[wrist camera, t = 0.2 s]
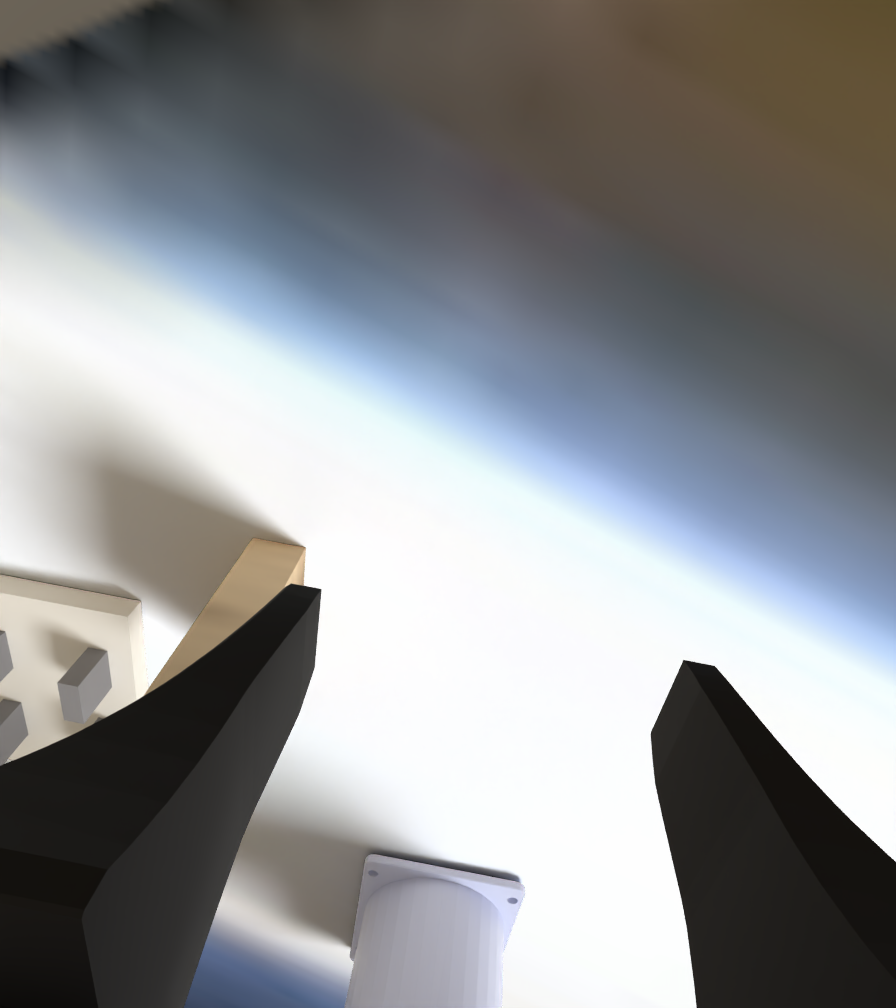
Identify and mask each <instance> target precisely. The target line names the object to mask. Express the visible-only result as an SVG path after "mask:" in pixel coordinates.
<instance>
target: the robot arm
mask: <svg viewBox="0 0 896 1008" xmlns="http://www.w3.org/2000/svg"><path fill="white" fill-rule="evenodd" d="M320 599H321V589H317V588H312V587H307V586H302V585H297V584H292V583H291V584H289V585H288V586H286V587H285V588H283V589H282V590H281V591H280V592H279V593H278V594H277V595H276V596H275V597H274V598H273V599H272V600H270V601H269V602H268V603H267V604H266V605H265V606H264V607H263V608H262V609H260V610H259V611H258V612H257V613H256V614H255V615H254V616H252V617H251V618H250V619H249V620H248V621H247V622H245V623H244V624H243V625H242V626H241V627H239V628H238V629H237V630H236V631H234V632H233V633H232V634H231V635H229V636H228V637H227V638H226V639H225V640H223V641H222V642H221V643H220V644H218V645H217V646H216V647H214V648H213V649H212V650H210V651H209V652H208V653H206V654H205V655H204V656H202V657H201V658H199V659H198V660H197V661H195V662H194V663H193V664H191V665H190V666H188V667H187V668H186V669H184V670H183V671H182V672H180V673H179V674H177V675H176V676H174V677H173V678H171V679H170V680H168V681H167V682H165V683H164V684H162V685H160V686H159V687H157V688H156V689H154V690H153V691H151V692H149V693H148V694H146V695H144V696H143V697H141V698H139V699H138V700H136V701H134V702H133V703H131V704H129V705H127V706H126V707H124V708H122V709H120V710H118V711H117V712H115V713H113V714H111V715H109V716H107V717H106V718H104V719H102V720H100V721H98V722H96V723H94V724H92V725H90V726H88V727H86V728H84V729H83V730H81V731H79V732H77V733H75V734H72V735H70V736H68V737H66V738H64V739H62V740H59V741H57V742H55V743H53V744H51V745H48V746H46V747H44V748H42V749H39V750H37V751H35V752H32V753H30V754H28V755H25V756H23V757H20V758H18V759H16V760H13V761H11V762H8V763H6V764H3V765H1V766H0V1008H184V1005H185V1002H186V999H187V996H188V993H189V990H190V987H191V984H192V981H193V978H194V975H195V972H196V969H197V966H198V963H199V960H200V957H201V954H202V951H203V948H204V945H205V942H206V939H207V936H208V933H209V930H210V928H211V925H212V922H213V919H214V916H215V913H216V910H217V907H218V904H219V902H220V899H221V896H222V893H223V890H224V887H225V884H226V882H227V879H228V876H229V873H230V871H231V868H232V865H233V862H234V859H235V857H236V854H237V851H238V848H239V845H240V843H241V840H242V837H243V835H244V833H245V830H246V828H247V825H248V823H249V821H250V818H251V816H252V814H253V812H254V809H255V807H256V805H257V803H258V801H259V799H260V797H261V794H262V792H263V790H264V788H265V786H266V784H267V782H268V780H269V777H270V775H271V773H272V771H273V769H274V767H275V765H276V763H277V760H278V758H279V756H280V754H281V752H282V750H283V748H284V745H285V743H286V741H287V739H288V737H289V735H290V732H291V730H292V728H293V726H294V724H295V722H296V719H297V717H298V715H299V713H300V710H301V707H302V704H303V701H304V698H305V695H306V692H307V689H308V686H309V683H310V680H311V677H312V673H313V670H314V667H315V656H316V645H317V633H318V622H319V611H320ZM651 743H652V756H653V767H654V776H655V784H656V789H657V794H658V799H659V803H660V808H661V812H662V816H663V821H664V825H665V830H666V834H667V838H668V843H669V847H670V851H671V856H672V860H673V864H674V869H675V873H676V877H677V882H678V886H679V890H680V895H681V899H682V904H683V909H684V915H685V920H686V925H687V932H688V940H689V947H690V955H691V963H692V970H693V978H694V986H695V995H696V1005H697V1008H896V862H895V861H894V860H893V859H892V858H891V857H890V856H888V855H887V854H886V853H885V852H884V851H883V850H882V849H881V848H880V847H879V846H878V845H877V844H876V843H875V842H874V841H872V840H871V839H870V838H869V837H868V836H867V835H866V834H865V833H864V832H863V831H862V830H861V829H860V828H859V827H858V826H857V825H855V824H854V823H853V822H852V821H851V820H850V819H849V818H848V817H847V816H846V815H845V814H844V813H843V812H842V811H841V810H840V809H839V808H838V807H837V806H836V805H835V804H834V803H833V801H832V800H831V799H830V798H829V797H828V796H827V795H826V794H825V793H824V792H823V791H822V790H821V789H820V788H819V787H818V786H817V784H816V783H815V782H814V781H813V780H812V779H811V778H810V777H809V776H808V775H807V774H806V773H805V772H804V770H803V769H802V768H801V767H800V766H799V765H798V764H797V763H796V761H795V760H794V759H793V758H792V757H791V756H790V755H789V754H788V752H787V751H786V750H785V749H784V748H783V747H782V745H781V744H780V743H779V742H778V741H777V740H776V738H775V737H774V736H773V735H772V734H771V733H770V731H769V730H768V729H767V728H766V727H765V725H764V724H763V723H762V722H761V721H760V719H759V718H758V717H757V716H756V715H755V713H754V712H753V711H752V710H751V708H750V707H749V706H748V705H747V704H746V702H745V701H744V700H743V699H742V698H741V696H740V695H739V694H738V693H737V692H736V690H735V689H734V688H733V687H732V686H731V684H730V683H729V682H728V681H727V680H726V678H725V677H724V676H723V675H722V674H721V673H720V672H719V670H718V669H717V668H716V667H715V666H711V665H706V664H701V663H696V662H691V661H686V660H683V663H682V665H681V667H680V669H679V672H678V674H677V676H676V678H675V680H674V683H673V685H672V687H671V689H670V692H669V694H668V696H667V698H666V700H665V703H664V705H663V707H662V709H661V712H660V714H659V716H658V718H657V720H656V723H655V725H654V727H653V729H652V731H651ZM524 896H525V887H524V885H523V884H521V883H520V882H516V881H511V880H506V879H501V878H496V877H491V876H485V875H480V874H475V873H470V872H465V871H459V870H454V869H449V868H444V867H439V866H434V865H428V864H423V863H418V862H413V861H408V860H403V859H397V858H392V857H387V856H382V855H377V854H372V855H369V856H367V857H366V859H365V863H364V869H363V875H362V882H361V888H360V894H359V901H358V907H357V913H356V920H355V926H354V932H353V939H352V945H351V951H350V958H351V960H352V961H354V964H353V969H352V974H351V979H350V984H349V988H348V993H347V998H346V1003H345V1008H502V987H503V953H504V950H505V947H506V945H507V942H508V939H509V937H510V934H511V931H512V928H513V926H514V923H515V920H516V918H517V915H518V912H519V910H520V907H521V904H522V902H523V899H524Z"/></svg>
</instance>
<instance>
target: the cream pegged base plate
mask: <svg viewBox="0 0 896 1008" xmlns="http://www.w3.org/2000/svg"><path fill="white" fill-rule="evenodd" d="M148 689H149V685H148V674H147V663H146V652H145V641H144V630H143V619H142V608H141V601H137V600H132V599H126V598H121V597H116V596H111V595H105V594H100V593H95V592H90V591H84V590H79V589H74V588H69V587H63V586H58V585H53V584H47V583H42V582H37V581H32V580H26V579H21V578H16V577H11V576H5V575H0V766H1V765H3V764H4V763H5V762H6V761H7V759H10V760H16V759H18V758H20V757H23V756H25V755H28V754H30V753H32V752H35V751H37V750H39V749H42V748H44V747H46V746H48V745H51V744H53V743H55V742H57V741H59V740H62V739H64V738H66V737H68V736H70V735H72V734H75V733H77V732H79V731H81V730H83V729H84V728H86V727H88V726H90V725H92V724H94V723H96V722H98V721H100V720H102V719H104V718H106V717H107V716H109V715H111V714H113V713H115V712H117V711H118V710H120V709H122V708H124V707H126V706H127V705H129V704H131V703H133V702H134V701H136V700H138V699H139V698H141V697H143V696H144V694H145V693H146V691H147V690H148Z"/></svg>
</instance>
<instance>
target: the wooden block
mask: <svg viewBox="0 0 896 1008" xmlns="http://www.w3.org/2000/svg"><path fill="white" fill-rule="evenodd" d="M305 552H306V548H304V547H299V546H294V545H288V544H283V543H278V542H273V541H267V540H262V539H257V538H252V540H251V541H250V542H249V544H248V545H247V547H246V548H245V550H244V551H243V553H242V554H241V556H240V557H239V558H238V560H237V561H236V563H235V564H234V566H233V567H232V569H231V570H230V571H229V573H228V574H227V576H226V577H225V579H224V580H223V582H222V583H221V584H220V586H219V587H218V589H217V590H216V592H215V593H214V595H213V596H212V597H211V599H210V600H209V602H208V603H207V605H206V606H205V608H204V609H203V610H202V612H201V613H200V615H199V616H198V618H197V619H196V621H195V622H194V623H193V625H192V626H191V628H190V629H189V631H188V632H187V634H186V635H185V636H184V638H183V639H182V641H181V642H180V644H179V645H178V647H177V648H176V649H175V651H174V652H173V654H172V655H171V657H170V658H169V660H168V661H167V663H166V664H165V665H164V667H163V668H162V670H161V671H160V673H159V674H158V676H157V677H156V678H155V680H154V681H153V683H152V684H151V686H150V687H149V689H148V690H147V691H146V693H145V694H144V695H146V694H148V693H149V692H151V691H153V690H154V689H156V688H157V687H159V686H160V685H162V684H164V683H165V682H167V681H168V680H170V679H171V678H173V677H174V676H176V675H177V674H179V673H180V672H182V671H183V670H184V669H186V668H187V667H188V666H190V665H191V664H193V663H194V662H195V661H197V660H198V659H199V658H201V657H202V656H204V655H205V654H206V653H208V652H209V651H210V650H212V649H213V648H214V647H216V646H217V645H218V644H220V643H221V642H222V641H223V640H225V639H226V638H227V637H228V636H229V635H231V634H232V633H233V632H234V631H236V630H237V629H238V628H239V627H241V626H242V625H243V624H244V623H245V622H247V621H248V620H249V619H250V618H251V617H252V616H254V615H255V614H256V613H257V612H258V611H259V610H260V609H262V608H263V607H264V606H265V605H266V604H267V603H268V602H269V601H270V600H272V599H273V598H274V597H275V596H276V595H277V594H278V593H279V592H280V591H281V590H282V589H283V588H285V587H286V586H288V585H289V584H291V583H292V584H297V585H302V586H303V585H304V568H305Z"/></svg>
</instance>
